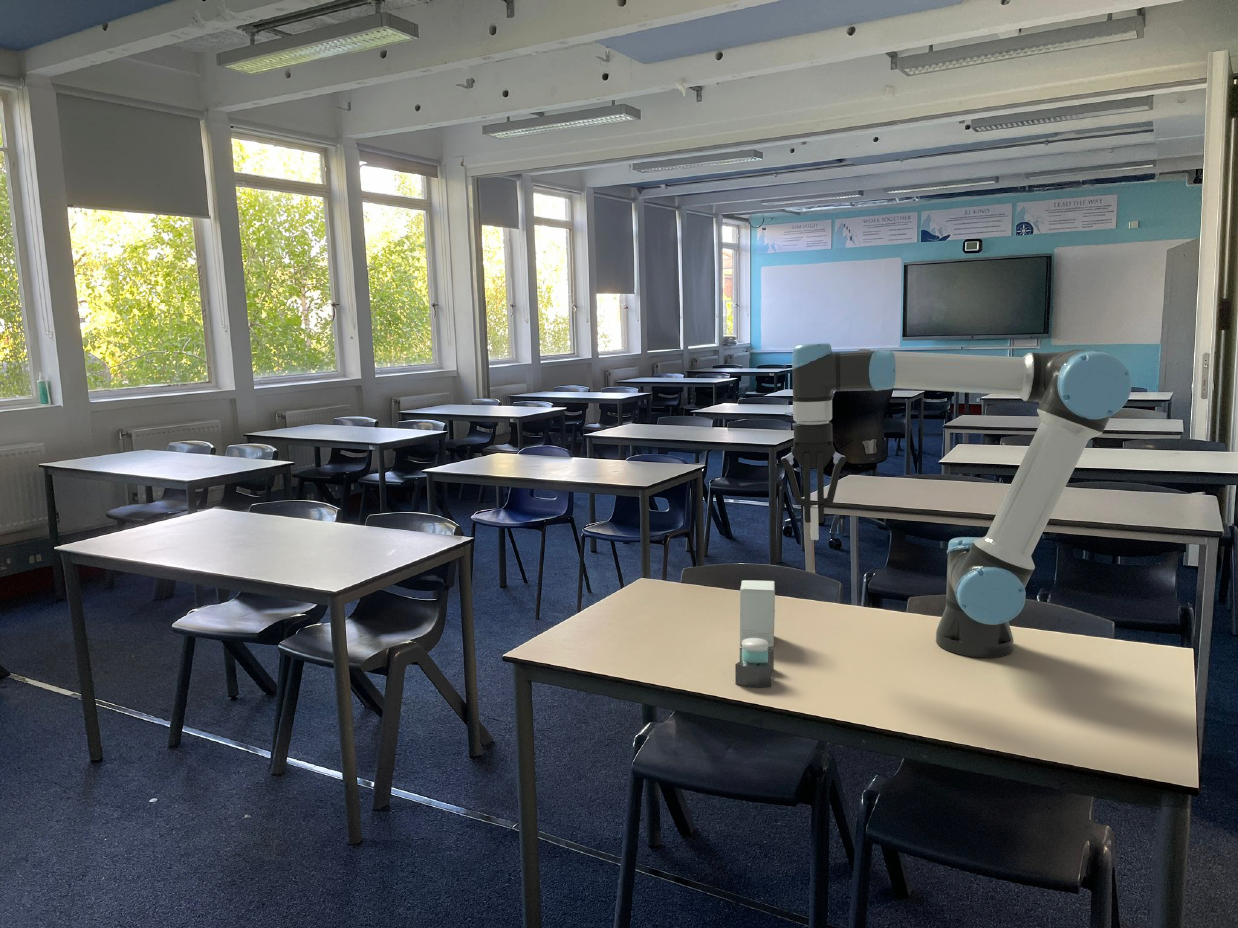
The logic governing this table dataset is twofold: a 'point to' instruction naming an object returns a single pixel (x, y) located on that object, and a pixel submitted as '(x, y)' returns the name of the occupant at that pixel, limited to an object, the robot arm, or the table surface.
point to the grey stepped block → (754, 672)
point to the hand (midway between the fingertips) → (814, 538)
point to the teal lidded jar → (755, 650)
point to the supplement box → (757, 610)
